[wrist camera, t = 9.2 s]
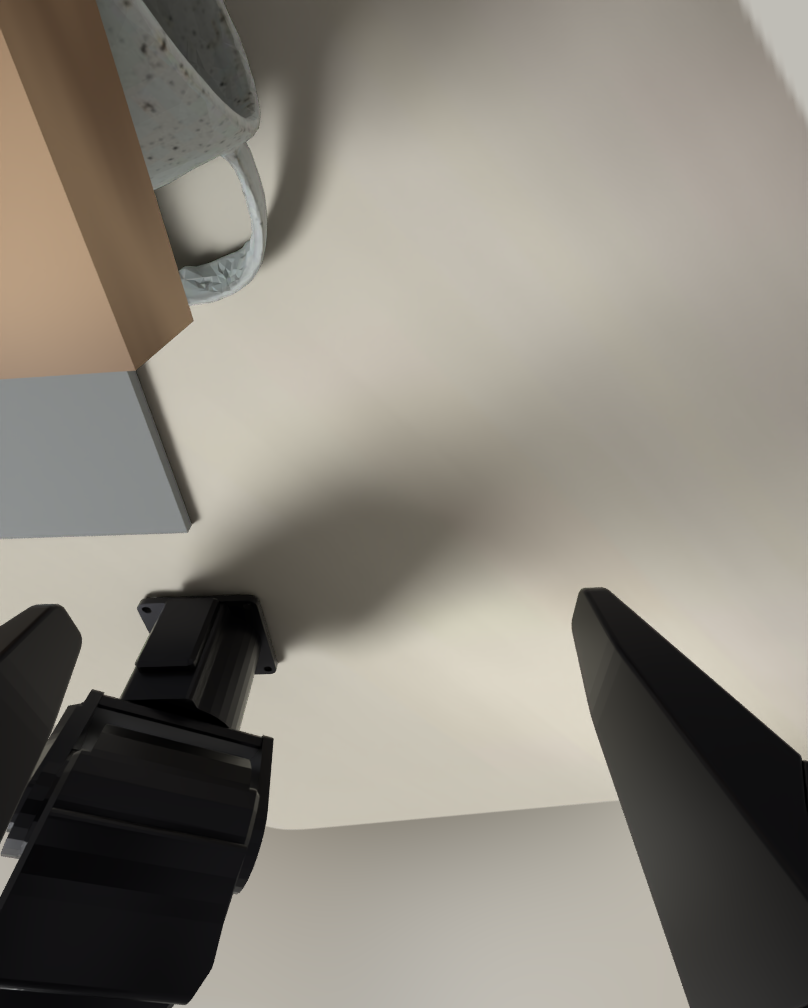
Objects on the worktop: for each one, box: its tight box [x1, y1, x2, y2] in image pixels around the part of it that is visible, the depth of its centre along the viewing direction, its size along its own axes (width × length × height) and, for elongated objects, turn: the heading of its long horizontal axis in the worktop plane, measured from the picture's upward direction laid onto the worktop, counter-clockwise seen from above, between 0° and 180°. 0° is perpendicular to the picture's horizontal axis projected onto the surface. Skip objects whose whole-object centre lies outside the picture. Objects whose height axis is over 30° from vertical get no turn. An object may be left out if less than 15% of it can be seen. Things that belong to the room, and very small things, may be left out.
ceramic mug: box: [96, 0, 267, 306], centre depth 12 cm, size 11×8×8 cm
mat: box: [0, 371, 192, 539], centre depth 20 cm, size 12×12×1 cm
